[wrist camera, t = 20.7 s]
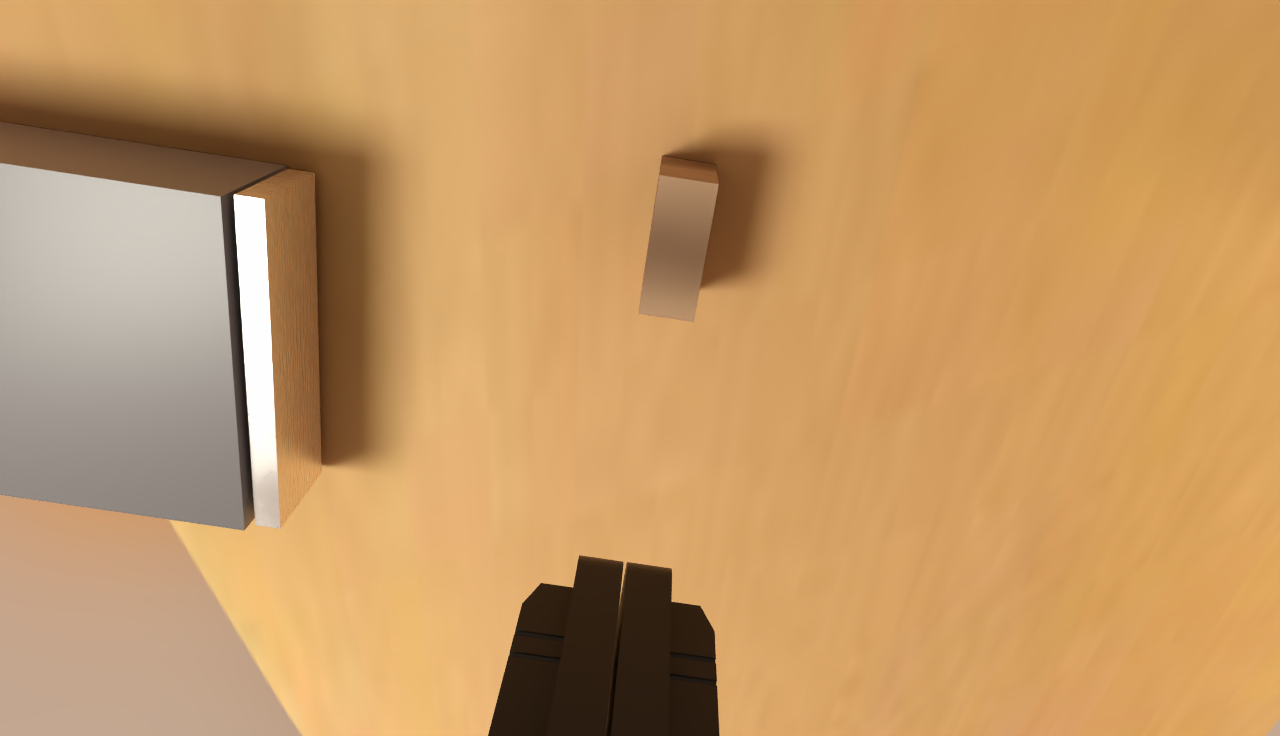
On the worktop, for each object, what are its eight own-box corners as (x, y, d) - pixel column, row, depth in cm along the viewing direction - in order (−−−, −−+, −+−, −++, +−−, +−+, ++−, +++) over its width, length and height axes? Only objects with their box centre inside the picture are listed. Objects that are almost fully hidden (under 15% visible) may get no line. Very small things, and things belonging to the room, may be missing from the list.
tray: (-38, 118, 37) (-138, 138, 33) (314, 172, 38) (264, 199, 33) (23, 428, 44) (-53, 480, 40) (321, 472, 44) (280, 528, 40)
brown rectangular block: (662, 155, 37) (659, 174, 33) (715, 164, 37) (718, 184, 33) (642, 283, 40) (638, 313, 36) (692, 290, 40) (693, 321, 36)
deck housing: (-67, 111, 38) (-193, 133, 32) (286, 165, 38) (220, 196, 33) (-2, 419, 45) (-97, 480, 39) (297, 463, 45) (244, 530, 39)
